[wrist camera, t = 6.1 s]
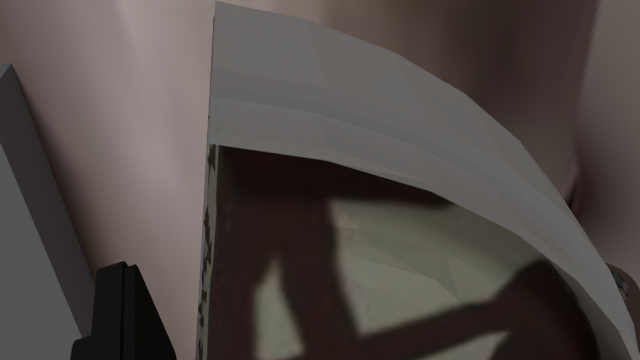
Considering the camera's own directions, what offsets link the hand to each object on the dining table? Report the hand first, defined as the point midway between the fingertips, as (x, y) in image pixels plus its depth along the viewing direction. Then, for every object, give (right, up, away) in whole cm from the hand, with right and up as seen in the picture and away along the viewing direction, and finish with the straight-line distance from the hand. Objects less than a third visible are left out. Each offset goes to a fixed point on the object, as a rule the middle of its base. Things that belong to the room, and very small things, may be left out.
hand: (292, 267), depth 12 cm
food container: (0, +2, +3) cm, 4 cm away
